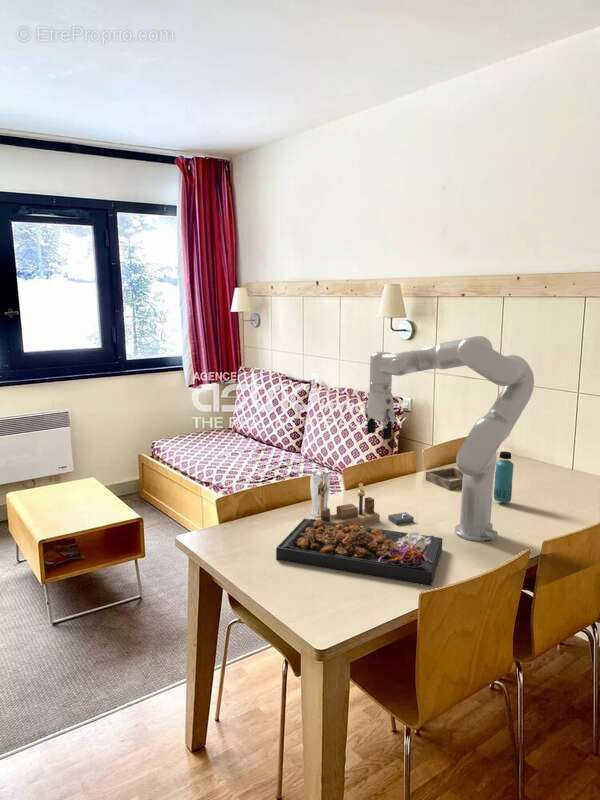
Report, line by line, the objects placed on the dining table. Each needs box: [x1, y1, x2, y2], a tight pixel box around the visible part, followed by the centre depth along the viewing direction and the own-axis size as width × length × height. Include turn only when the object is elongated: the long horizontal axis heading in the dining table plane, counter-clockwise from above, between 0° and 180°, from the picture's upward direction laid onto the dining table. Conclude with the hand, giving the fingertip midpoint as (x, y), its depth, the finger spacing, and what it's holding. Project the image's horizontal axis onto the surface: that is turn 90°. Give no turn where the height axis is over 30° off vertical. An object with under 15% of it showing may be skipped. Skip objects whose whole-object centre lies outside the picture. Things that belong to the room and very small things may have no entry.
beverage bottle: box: [493, 450, 515, 503], centre depth 218 cm, size 6×7×20 cm
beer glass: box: [309, 470, 331, 518], centre depth 206 cm, size 7×7×15 cm
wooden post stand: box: [313, 496, 381, 526], centre depth 198 cm, size 7×22×9 cm, turn 117°
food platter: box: [275, 518, 443, 587], centre depth 174 cm, size 45×25×10 cm, turn 70°
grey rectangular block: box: [388, 512, 415, 526], centre depth 201 cm, size 5×7×3 cm
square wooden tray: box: [425, 467, 463, 491], centre depth 244 cm, size 15×15×4 cm
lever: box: [357, 482, 366, 497], centre depth 203 cm, size 2×10×2 cm, turn 175°
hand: (379, 436), depth 204 cm, fingers open, 9 cm apart
